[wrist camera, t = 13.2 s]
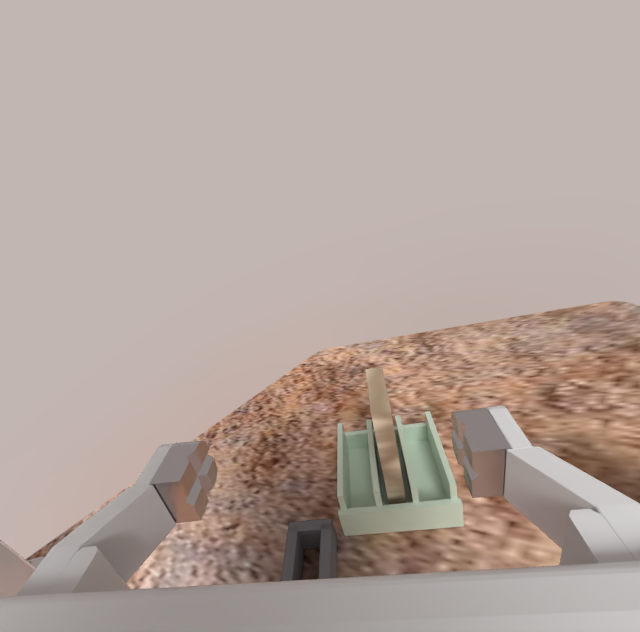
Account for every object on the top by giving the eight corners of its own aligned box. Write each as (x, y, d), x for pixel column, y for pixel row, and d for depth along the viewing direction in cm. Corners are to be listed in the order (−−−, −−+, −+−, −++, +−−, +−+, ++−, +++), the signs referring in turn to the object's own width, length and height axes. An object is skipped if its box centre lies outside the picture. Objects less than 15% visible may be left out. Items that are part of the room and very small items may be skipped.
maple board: (389, 508, 35) (371, 413, 30) (382, 454, 41) (365, 369, 36) (407, 506, 35) (391, 410, 29) (396, 453, 41) (382, 366, 36)
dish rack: (344, 536, 34) (334, 501, 32) (343, 452, 44) (335, 420, 42) (463, 526, 33) (461, 488, 30) (434, 441, 42) (431, 408, 40)
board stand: (281, 672, 26) (270, 654, 25) (296, 540, 35) (289, 522, 34) (336, 670, 25) (328, 652, 24) (337, 536, 34) (331, 518, 33)
